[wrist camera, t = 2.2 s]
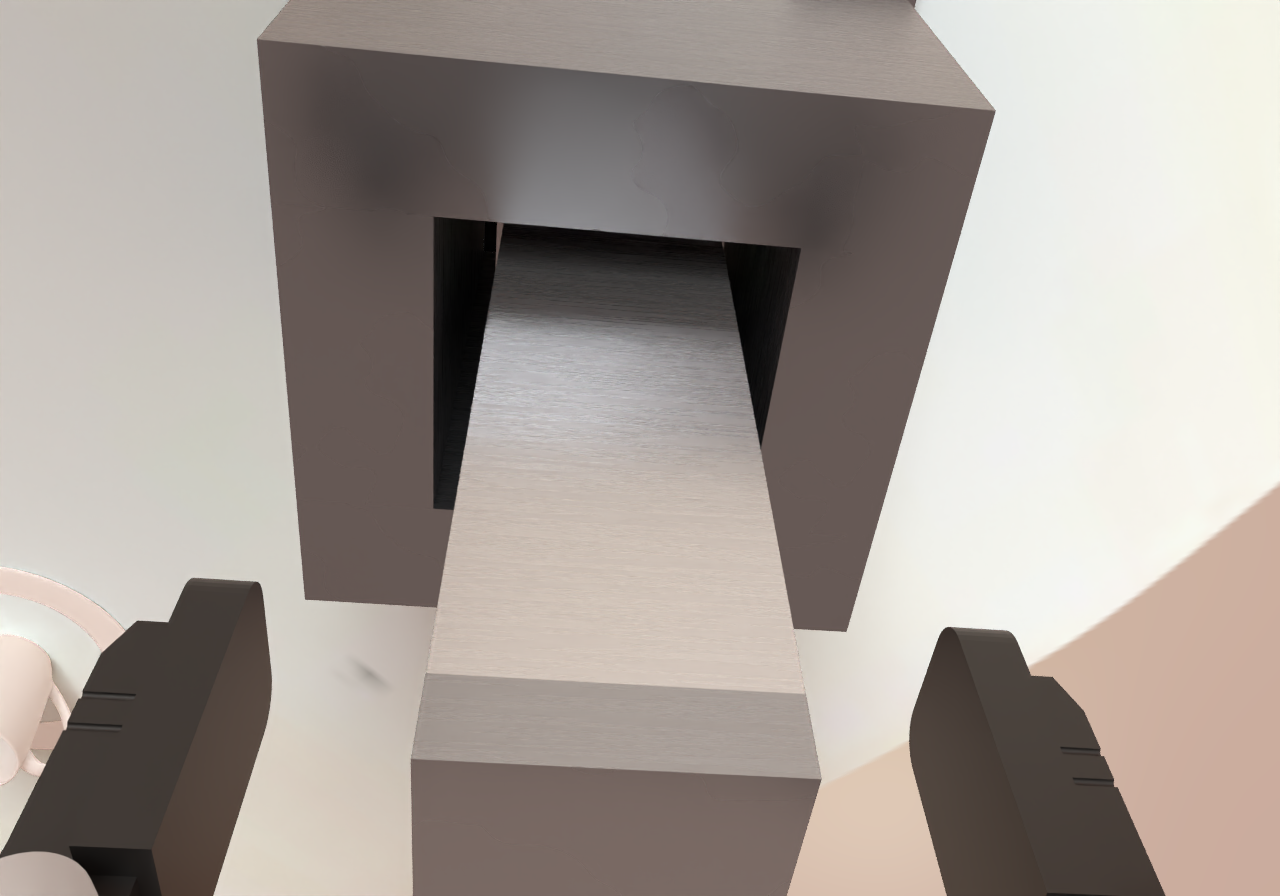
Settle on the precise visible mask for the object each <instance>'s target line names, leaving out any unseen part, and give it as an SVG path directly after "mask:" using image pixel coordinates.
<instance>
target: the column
mask: <svg viewBox="0 0 1280 896" xmlns="http://www.w3.org/2000/svg"><path fill="white" fill-rule="evenodd" d="M723 248H724V242H723V241H711V240H700V239H688V238H676V237H665V236H653V235H641V234H630V233H618V232H607V231H595V230H583V229H572V228H560V227H548V226H537V225H525V224H513V223H502V222H497V241H496V270H495V276H494V282H493V287H492V293H491V299H490V305H489V310H488V316H487V322H486V328H485V334H484V339H483V345H482V351H481V357H480V362H479V368H478V374H477V380H476V386H475V391H474V397H473V403H472V409H471V414H470V420H469V426H468V432H467V438H466V443H465V449H464V455H463V461H462V466H461V472H460V478H459V484H458V490H457V495H456V501H455V507H454V513H453V518H452V524H451V530H450V536H449V542H448V547H447V553H446V559H445V565H444V570H443V576H442V582H441V588H440V594H439V599H438V605H437V611H436V617H435V622H434V628H433V634H432V640H431V646H430V651H429V657H428V663H427V669H426V674H425V680H424V686H423V692H422V698H421V703H420V709H419V715H418V721H417V726H416V732H415V738H414V744H413V750H412V755H411V798H412V860H413V896H787V893H788V889H789V886H790V883H791V879H792V876H793V873H794V869H795V866H796V863H797V859H798V856H799V853H800V849H801V846H802V843H803V839H804V836H805V832H806V829H807V826H808V823H809V819H810V816H811V812H812V809H813V806H814V803H815V799H816V796H817V793H818V789H819V786H820V783H821V774H820V768H819V763H818V757H817V752H816V747H815V741H814V736H813V730H812V725H811V720H810V714H809V709H808V703H807V698H806V693H805V687H804V682H803V677H802V671H801V666H800V660H799V655H798V650H797V644H796V639H795V633H794V628H793V623H792V617H791V612H790V606H789V601H788V596H787V590H786V585H785V579H784V574H783V569H782V563H781V558H780V552H779V547H778V542H777V536H776V531H775V525H774V520H773V515H772V509H771V504H770V498H769V493H768V488H767V482H766V477H765V471H764V466H763V461H762V455H761V450H760V444H759V439H758V434H757V428H756V423H755V417H754V412H753V407H752V401H751V396H750V390H749V385H748V380H747V374H746V369H745V364H744V358H743V353H742V347H741V342H740V337H739V331H738V326H737V320H736V315H735V310H734V304H733V299H732V293H731V288H730V283H729V277H728V272H727V266H726V261H725V256H724V250H723Z"/></svg>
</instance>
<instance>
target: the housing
mask: <svg viewBox="0 0 1280 896" xmlns="http://www.w3.org/2000/svg"><path fill="white" fill-rule="evenodd" d="M915 2H916V0H290V1H289V2H288V3H287V4H286V5H285V7H284V8H283V9H282V10H281V11H280V13H279V14H278V15H277V16H276V17H275V18H274V20H273V21H272V22H271V23H270V24H269V26H268V27H267V28H266V29H265V30H264V32H263V33H262V34H261V35H260V36H259V37H258V39H257V45H258V56H259V68H260V80H261V91H262V103H263V115H264V126H265V138H266V149H267V161H268V173H269V184H270V196H271V208H272V219H273V231H274V243H275V254H276V266H277V278H278V289H279V301H280V313H281V324H282V336H283V347H284V359H285V371H286V382H287V394H288V406H289V417H290V429H291V441H292V452H293V464H294V476H295V487H296V499H297V511H298V522H299V534H300V545H301V557H302V569H303V580H304V592H305V600H322V601H339V602H355V603H372V604H389V605H406V606H422V607H437V605H438V599H439V594H440V588H441V582H442V576H443V570H444V565H445V559H446V553H447V547H448V542H449V536H450V530H451V524H452V518H453V513H454V507H455V501H456V495H457V490H458V484H459V478H460V472H461V466H462V461H463V455H464V449H465V443H466V438H467V432H468V426H469V420H470V414H471V409H472V403H473V397H474V391H475V386H476V380H477V374H478V368H479V362H480V357H481V351H482V345H483V339H484V334H485V328H486V322H487V316H488V310H489V305H490V299H491V293H492V287H493V282H494V276H495V270H496V252H491V251H484V234H485V221H490V222H502V223H513V224H525V225H537V226H548V227H560V228H572V229H583V230H595V231H607V232H618V233H630V234H641V235H653V236H665V237H676V238H688V239H700V240H711V241H723V242H724V248H723V250H724V256H725V261H726V266H727V272H728V277H729V283H730V288H731V293H732V299H733V304H734V310H735V315H736V320H737V326H738V331H739V337H740V342H741V347H742V353H743V358H744V364H745V369H746V374H747V380H748V385H749V390H750V396H751V401H752V407H753V412H754V417H755V423H756V428H757V434H758V439H759V444H760V450H761V455H762V461H763V466H764V471H765V477H766V482H767V488H768V493H769V498H770V504H771V509H772V515H773V520H774V525H775V531H776V536H777V542H778V547H779V552H780V558H781V563H782V569H783V574H784V579H785V585H786V590H787V596H788V601H789V606H790V612H791V617H792V623H793V628H794V629H808V630H825V631H841V632H847V628H848V625H849V621H850V618H851V614H852V611H853V607H854V604H855V600H856V597H857V593H858V590H859V586H860V583H861V579H862V576H863V572H864V569H865V565H866V562H867V558H868V555H869V551H870V548H871V544H872V541H873V537H874V534H875V530H876V527H877V523H878V520H879V516H880V513H881V509H882V506H883V502H884V499H885V495H886V492H887V488H888V485H889V482H890V478H891V475H892V471H893V468H894V464H895V461H896V457H897V454H898V450H899V447H900V443H901V440H902V436H903V433H904V429H905V426H906V422H907V419H908V415H909V412H910V408H911V405H912V401H913V398H914V394H915V391H916V387H917V384H918V380H919V377H920V373H921V370H922V366H923V363H924V359H925V356H926V352H927V349H928V345H929V342H930V338H931V335H932V331H933V328H934V324H935V321H936V317H937V314H938V310H939V307H940V303H941V300H942V296H943V293H944V289H945V286H946V282H947V279H948V275H949V272H950V268H951V265H952V262H953V258H954V255H955V251H956V248H957V244H958V241H959V237H960V234H961V230H962V227H963V223H964V220H965V216H966V213H967V209H968V206H969V202H970V199H971V195H972V192H973V188H974V185H975V181H976V178H977V174H978V171H979V167H980V164H981V160H982V157H983V153H984V150H985V146H986V143H987V139H988V136H989V132H990V129H991V125H992V122H993V118H994V115H995V111H996V110H995V109H994V108H993V107H992V105H991V104H990V103H989V102H988V100H987V99H986V98H985V97H984V95H983V94H982V93H981V92H980V90H979V89H978V88H977V87H976V85H975V84H974V83H973V82H972V80H971V79H970V78H969V77H968V75H967V74H966V73H965V72H964V70H963V69H962V68H961V67H960V65H959V64H958V63H957V62H956V60H955V59H954V58H953V57H952V55H951V54H950V53H949V52H948V50H947V49H946V48H945V47H944V45H943V44H942V43H941V41H940V40H939V39H938V38H937V36H936V35H935V34H934V33H933V31H932V30H931V29H930V28H929V26H928V25H927V24H926V23H925V21H924V20H923V19H922V18H921V16H920V15H919V14H918V13H917V11H916V10H915V9H914V7H915Z"/></svg>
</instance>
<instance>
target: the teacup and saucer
mask: <svg viewBox="0 0 1280 896" xmlns="http://www.w3.org/2000/svg"><path fill="white" fill-rule="evenodd" d="M0 594H7V595H12V596H17V597H21V598H25V599H29V600H32V601H35V602H38V603H40V604H43V605H45V606H48V607H50V608H52V609H54V610H56V611H58V612H60V613H61V614H63V615H65V616H66V617H68V618H69V619H71V620H72V621H74V622H75V623H76V624H78V625H79V626H80V627H81V628H82V629H84V630H85V631H86V632H87V633H88V634H89V635H90V636H91V638H92V639H93V640H94V641H95V642H96V644H97V645H98V647H99V648H100V650H101V652H103V651H104V650H105V649H106V648H108V647H109V646H110V645H111V644H112V643H113V642H114V641H115V640H116V639H117V638H119V637H120V636H121V635H122V634H123V633H124V632H125V630H124V629H123V627H122V626H121V625H120V624H119V623H118V622H117V621H116V620H115V619H114V618H113V617H112V616H111V615H109V614H108V613H107V612H106V611H105V610H103V609H102V608H101V607H100V606H98V605H97V604H95V603H94V602H93V601H91V600H90V599H88V598H86V597H85V596H83V595H81V594H80V593H78V592H76V591H74V590H72V589H70V588H68V587H66V586H64V585H62V584H60V583H57V582H55V581H53V580H50V579H47V578H45V577H42V576H39V575H36V574H32V573H29V572H25V571H21V570H17V569H12V568H6V567H0ZM48 698H50V699H51V701H52V702H53V703H54V705H55V707H56V709H57V711H58V713H59V715H60V718H61V720H60V721H53V722H40V720H41V718H42V715H43V712H44V709H45V706H46V703H47V700H48ZM70 715H71V712H70V710H69V708H68V705H67V703H66V701H65V699H64V697H63V696H62V694H61V692H60V691H59V689H58V688H57V686H56V685H55V684H54V682H53V679H52V666H51V661H50V658H49V656H48V654H47V653H46V652H45V651H44V650H43V649H42V648H41V647H40V646H39V645H37V644H36V643H34V642H33V641H31V640H28V639H26V638H23V637H20V636H16V635H8V634H2V635H0V786H1V785H4V784H6V783H7V782H9V781H10V780H12V779H13V778H14V777H15V775H16V774H17V773H18V771H19V769H20V768H22V769H23V770H24V771H26V772H27V773H29V774H31V775H34V776H40V775H41V773H42V771H43V769H44V767H45V765H46V764H44V763H42V762H40V761H39V760H38V759H37V758H36V757H35V756H34V754H33V753H32V751H31V750H30V749H44V750H48V749H54V747H55V745H56V743H57V741H58V739H59V737H60V735H61V733H62V731H63V730H66V728H67V721H68V719H69V717H70Z"/></svg>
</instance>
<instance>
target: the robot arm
mask: <svg viewBox="0 0 1280 896" xmlns="http://www.w3.org/2000/svg"><path fill="white" fill-rule="evenodd" d="M271 691H272V674H271V664H270V655H269V646H268V637H267V628H266V619H265V610H264V601H263V593H262V588H261V586H260V584H259V583H258V582H251V581H235V580H219V579H203V578H191V579H190V580H189V581H188V582H187V583H186V585H185V587H184V589H183V591H182V593H181V595H180V598H179V600H178V602H177V604H176V607H175V609H174V611H173V613H172V615H171V618H170V620H169V622H151V621H136V622H135V623H134V624H133V625H132V626H131V627H130V628H129V629H127V630H126V631H125V632H124V633H123V634H122V635H121V636H120V637H119V638H117V639H116V640H115V641H114V642H113V643H112V644H111V645H110V646H109V647H108V648H106V649H105V650H104V651H103V652H102V653H101V655H100V657H99V659H98V661H97V663H96V665H95V667H94V669H93V671H92V673H91V675H90V677H89V679H88V681H87V683H86V685H85V687H84V689H83V695H82V698H81V699H78V701H77V703H76V705H75V707H74V709H73V711H72V713H71V715H70V717H69V719H68V721H67V728H66V730H63V731H62V733H61V735H60V737H59V739H58V741H57V743H56V745H55V747H54V749H53V751H52V753H51V755H50V757H49V759H48V761H47V763H46V765H45V767H44V769H43V771H42V773H41V775H40V777H39V779H38V781H37V783H36V785H35V787H34V789H33V791H32V793H31V795H30V797H29V799H28V801H27V803H26V805H25V807H24V809H23V811H22V813H21V815H20V817H19V819H18V821H17V823H16V825H15V828H14V830H13V832H12V834H11V836H10V838H9V840H8V842H7V843H6V845H5V847H4V849H3V850H2V852H1V854H0V896H213V894H214V891H215V888H216V885H217V882H218V878H219V875H220V872H221V869H222V866H223V862H224V859H225V856H226V853H227V850H228V846H229V843H230V840H231V837H232V834H233V831H234V827H235V824H236V821H237V818H238V815H239V811H240V808H241V805H242V802H243V799H244V796H245V792H246V789H247V786H248V783H249V780H250V776H251V773H252V770H253V767H254V764H255V760H256V757H257V754H258V751H259V748H260V745H261V741H262V738H263V735H264V732H265V728H266V725H267V720H268V715H269V709H270V702H271ZM909 746H910V757H911V763H912V767H913V771H914V775H915V779H916V783H917V786H918V790H919V794H920V797H921V801H922V805H923V808H924V812H925V816H926V820H927V823H928V827H929V831H930V835H931V838H932V842H933V846H934V850H935V853H936V857H937V861H938V865H939V868H940V872H941V876H942V879H943V883H944V887H945V891H946V894H947V896H1165V894H1164V891H1163V889H1162V887H1161V885H1160V882H1159V880H1158V878H1157V876H1156V873H1155V871H1154V869H1153V866H1152V864H1151V862H1150V860H1149V857H1148V855H1147V853H1146V850H1145V848H1144V846H1143V844H1142V842H1141V839H1140V837H1139V835H1138V832H1137V830H1136V828H1135V826H1134V823H1133V821H1132V819H1131V817H1130V814H1129V812H1128V810H1127V807H1126V805H1125V803H1124V801H1123V798H1122V796H1121V794H1120V792H1119V789H1118V788H1117V787H1114V778H1113V776H1112V774H1111V771H1110V769H1109V767H1108V765H1107V762H1106V760H1105V758H1104V756H1101V755H1100V746H1099V744H1098V742H1097V740H1096V737H1095V735H1094V733H1093V730H1092V728H1091V726H1090V724H1089V722H1088V719H1087V717H1086V715H1085V712H1084V711H1083V710H1082V709H1081V707H1080V706H1079V705H1078V704H1077V703H1076V702H1075V701H1074V700H1073V699H1072V698H1071V697H1070V696H1069V695H1068V693H1067V692H1066V691H1065V690H1064V689H1063V688H1062V687H1061V686H1060V685H1059V684H1058V683H1057V682H1056V681H1055V679H1054V678H1053V677H1043V676H1031V675H1030V672H1029V669H1028V667H1027V665H1026V662H1025V660H1024V657H1023V655H1022V652H1021V650H1020V647H1019V645H1018V642H1017V640H1016V638H1015V637H1014V635H1013V634H1012V633H1011V632H1009V631H1005V630H989V629H972V628H956V627H947V628H945V629H944V630H943V631H942V632H941V634H940V636H939V638H938V641H937V644H936V647H935V649H934V652H933V655H932V658H931V661H930V664H929V667H928V669H927V672H926V675H925V678H924V681H923V684H922V687H921V690H920V692H919V695H918V698H917V701H916V704H915V707H914V710H913V713H912V717H911V723H910V734H909Z"/></svg>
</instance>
